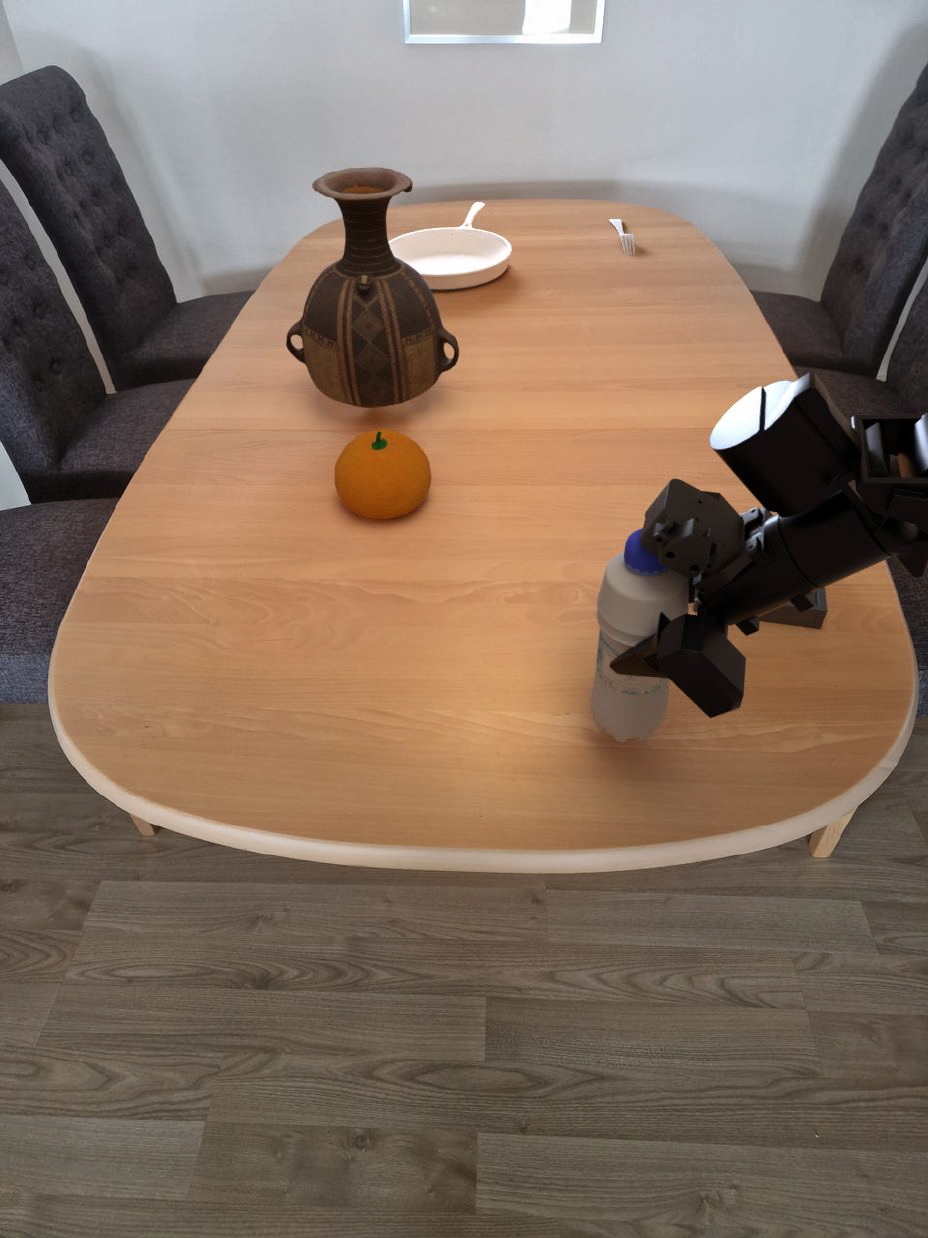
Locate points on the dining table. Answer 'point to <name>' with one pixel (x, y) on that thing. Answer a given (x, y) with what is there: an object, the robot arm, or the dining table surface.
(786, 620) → the tray
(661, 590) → the bottle
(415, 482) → the fruit
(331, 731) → the dining table surface
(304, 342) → the vase
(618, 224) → the fork
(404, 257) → the pan
